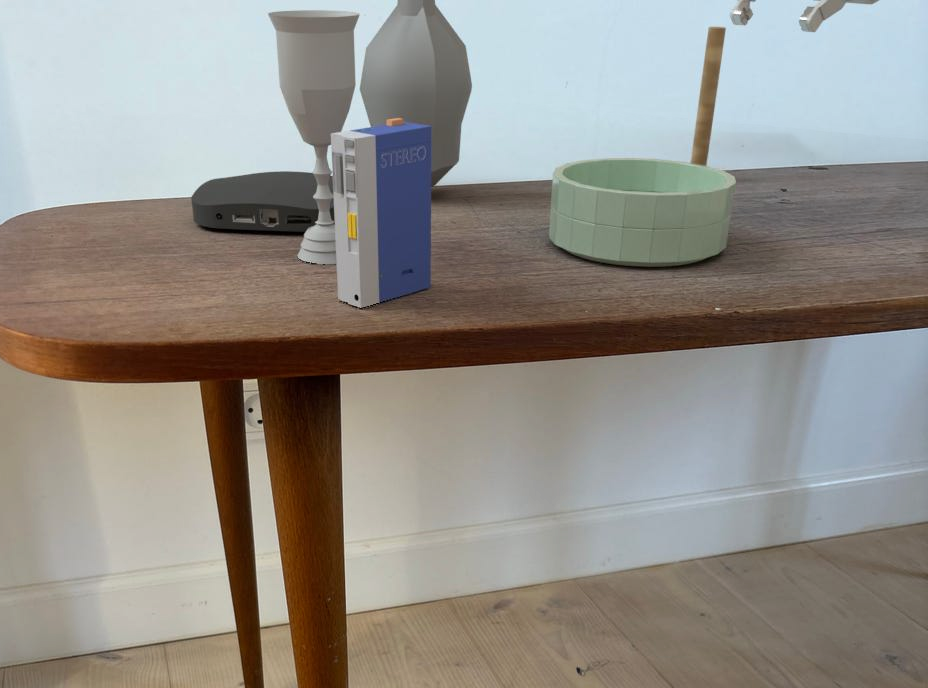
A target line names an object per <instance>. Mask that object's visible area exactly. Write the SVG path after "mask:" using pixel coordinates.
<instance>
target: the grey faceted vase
mask: <svg viewBox="0 0 928 688" xmlns="http://www.w3.org/2000/svg"><path fill="white" fill-rule="evenodd" d="M396 4H397V5H396V6H395V7H394V8H393V10H392V12H390V14H389V15H388V17H387V18H386V20H385V21H384V22H383V23H382V25H381V27H380V28H379V29H378V30H377V32H376V34H375V35H374V36H373V38H372V39H371V40H370V41H369V43H368V45H367V46H366V47H365V52H364V58H363V59H364V60H363V65H362V70H361V71H362V72H361V79H360V85H359V92H360V96H361V98H362V103H363V105H364V109H365V113H366V115H367V119H368V122H369V126H370V127H375V126H381V125H386V121H387V120H388V119H395V118H400V119H403V122H409V123H415V124H422V125H428V126H431V188H433V187H435V186H436V185H437V184H438V183H439V182H440V181H441V180H442V179H443V178H444V177H445V176H446V175H447V174H448V173H449V172H450V171H451V170H452V169H453V168H454V167H455V166H456V165H457V164H458V163H459V162H460V153H461V139H462V138H461V137H462V124H463V121H464V117H465V115H466V111H467V108H468V104H469V101H470V97H471V94H472V91H473V90H472V89H473V82H472V76H471V71H470V64H469V58H468V52H467V45H466V44H465V43H464V42H463V40H462V39H461V37H460V36H459V35H458V33H457V32H456V30H455V29H454V28H453V26H452V25H451V24H450V23H449V21H448V20H447V18H446V16H444V14H443V12H441V10H440V9H439V7H438V6H437V5H436V0H397V3H396Z"/></svg>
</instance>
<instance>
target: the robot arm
mask: <svg viewBox="0 0 928 688" xmlns="http://www.w3.org/2000/svg"><path fill="white" fill-rule="evenodd" d="M756 1H757V0H737V2H736V3H735V5H734V6H733V7H732V9H731V10H730V13H729V18H730V20H731V22H732V24H733V25H734V26H746V25H748V23H749V21H750V20H751V19H752V17H753V16H754V13H753V10H752V8H751V2H752V3H754V2H756ZM814 1H815V2H816V1H817V3H816V4H814V6H806V8H805V9H804V11H803V13H802V14H801V15H800V17H799V19H798V25H799V26H800V30H801V32H806V33H816V32H817V31H818V29H819V28H820V26H821V25H822V23H823V22H824V21H826V20H827V19H829V18H830V17H832V16H833V15H835V14H837V13H838V12H839V11H841V10H842V9H843V8H844V7H845V5H846V3H847V4H857V5H858V4H859V5H874V4H876V3H877V2H879V1H880V0H814Z"/></svg>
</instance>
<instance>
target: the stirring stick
mask: <svg viewBox="0 0 928 688" xmlns="http://www.w3.org/2000/svg"><path fill="white" fill-rule="evenodd" d="M726 31H727V28H726V27H725V26H708V28H707V35H706V36H707V38H706V42H705V43H706V44H705V50H704V59H703V66H702V75H701V81H700V89H699V96H698V104H697V110H696V118H695V119H696V120H695V126H694V133H693V142H692V148H691V157H690V163H694V164H699V165H705V166H708V165H707V164H708V158H709V150H710V144H711V137H712V131H713V122H714V116H715V108H716V101H717V96H718V95H717V94H718V88H719V87H718V86H719V82H720V81H719V80H720V73H721V67H722V60H723V59H722V58H723V51H724V46H725V45H724V44H725V37H726Z"/></svg>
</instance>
